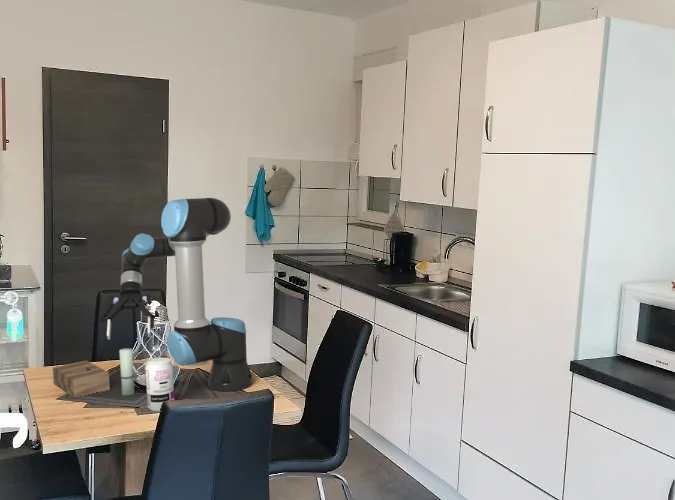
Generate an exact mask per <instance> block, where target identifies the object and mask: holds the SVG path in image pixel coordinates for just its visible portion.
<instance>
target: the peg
mask: <svg viewBox="0 0 675 500" xmlns="http://www.w3.org/2000/svg"><path fill="white" fill-rule="evenodd" d="M133 359H134V358H133V349H132V348H130V347H127V348H126V347H124V348H121V349H119V364H120V365H119V367H120V376H119V377H120V381H121V395H122V396H132V395H134V394H135V379H134V378H135V374H134V364H133V363H134V361H133Z"/></svg>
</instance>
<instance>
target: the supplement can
mask: <svg viewBox="0 0 675 500" xmlns="http://www.w3.org/2000/svg"><path fill="white" fill-rule="evenodd" d="M173 369H174V367H173V363H172V362H171V359H170V358H168V357H166V358H165V357H158V358H153V359H152V358H151V359H149V360H148V361H147V363H146V364H145V369H144V370H145V381H146V382H145V383H146V386H145V387H146V403H147V408H148V409H149V410H150V411H152V412H161V411H160V408H161V405H162V403H163V402H164V401H170V400H174V401H175V389H174V388H175V386H174V370H173Z"/></svg>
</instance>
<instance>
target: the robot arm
mask: <svg viewBox="0 0 675 500" xmlns="http://www.w3.org/2000/svg"><path fill="white" fill-rule="evenodd" d="M231 217H232V215H231V211H230V208H229V207H228V205H227V204H226V203H225V202H224V201H223V200H220V199H218V198H213V197H204V198H203V197H201V198H180V199H173V200H170V201H168V203H165V206H164V208H163V209H162V213H161V218H160V221H161V224H160V225H161V229H162V232H163V234H164V235H165V236H162V237H161V236H159V237H152V235H150V234H148V233H147V234H146V233H143V232H141V233H138V234H137V235H135V237H134V238H133V240H132V241H131V242H130V245H129V247H128V248H126V249H124V251H123V252H122V255H121V259H120V261H121V268H120V269H121V271H120V272H121V273H120V287H119V289H120V290H119V297H114V295H111V296H110V297H109V302H108V303H107V304H106V306H105V308H104V309H103V310H102V312H101V314H100V315H99V321H100V322H101V323H104V324H103V325H104V327H103V328H104V331H106V338H107V340H111V334H112V333H111V331H112V322H111V321H113V319H115V317H117V315H118V314H120V313H121V312H123V310H130V309H133V310H134V309H136V308H137V310H139V311H140V312H142V313H143V314H144V315H145V316H146V315H147V316H150V317H147V316H146V317H147V337H148V338H151V337H152V336H151V335H152V333H151V332H152V330H151V329H152V328H154V327H155V320H154V318H155V317H159V318H160V313H159V312H158V310H157V309H156V311H155V316H154V315H153V313H152V312H151V311H150V310H149V309H148V308H146V306H145V305H144V304H142V302H143V301H144V302H145V303H147V305H148V304H149V305H150V304H151V303H153V301H152V300H151V295H150V294H146V295H145V296H143V295H142V294H143V293H142V291H143V290H142V289H143V287H142V286H143V268H144V265H145V263H146V262H147V260H150V259H158V258H166V257H174V259H175V278H176V279H175V281H176V294H177V295H176V296H177V298H176V299H177V315H178V316H177V320H176V321H175V322H174V323H173V331H170V332H168V336H167V347H168V351H169V354H170V356H171V357H172V359H173V361H174V362H175V363H177V364H178V365H180V366H185V367H186V365H190V364H191V365H193V364H195V363H200V362H204V361H207V362H208V361H212V365H211V368H210V373H209V375H208V379H207V383H208V387H209V389H211V390H214V391H217V392H218V391H220V392H235V391H240V390H244V389H247V388H249V387H251V386H252V385H253V384H254V383H253V382H254V381H253V374H252V371H251V369H250V366H249V364H248V359H247V331H246V330H247V329H246V323H245V321H244V320H242V319H240V318H234V317H222V316H221V317H213V318H211V319H210V320H208V318H206V312H205V311H206V310H205V287H204V283H205V282H204V268H203V267H204V266H203V265H204V263H203V245H204V243H205V242H206V241H207V237H209V236H217V235H218V234H220V233H221V232H223V231H224V230H226V229H227V228H228V227H229V225H230V223H231ZM117 303H118V304H117ZM115 305H117V306H115ZM114 306H115V307H114ZM148 310H149V311H150V312H151V313H152V314H151V313H150V312H149V311H148Z"/></svg>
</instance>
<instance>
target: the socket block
mask: <svg viewBox="0 0 675 500" xmlns="http://www.w3.org/2000/svg"><path fill="white" fill-rule="evenodd" d="M52 375H53V384H54V385H55V386H56V387H58V388H59V389H61V390H62V391H64V393H66V394H67V395H69V394H70V395H69V396H71V397H72V396H73V398H74V399H76V397H77V398H80V396H81V397H85V395H86V396H89V395H88V394H90V395H93V394H92V393H94V394H97V393H96V392H98V393H102V392H106V390H107V391H110V390H111V386H110V372H108V371H107V370H105V369H103V368H101V367H99V366H98V365H96V364H93V363H92V362H90V361H89V360H82V361H78V362H73V363H72V362H71V363H68V364H64V365H63V364H61V365H59V366H58V365H57V366H53V367H52ZM101 391H102V392H101Z"/></svg>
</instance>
